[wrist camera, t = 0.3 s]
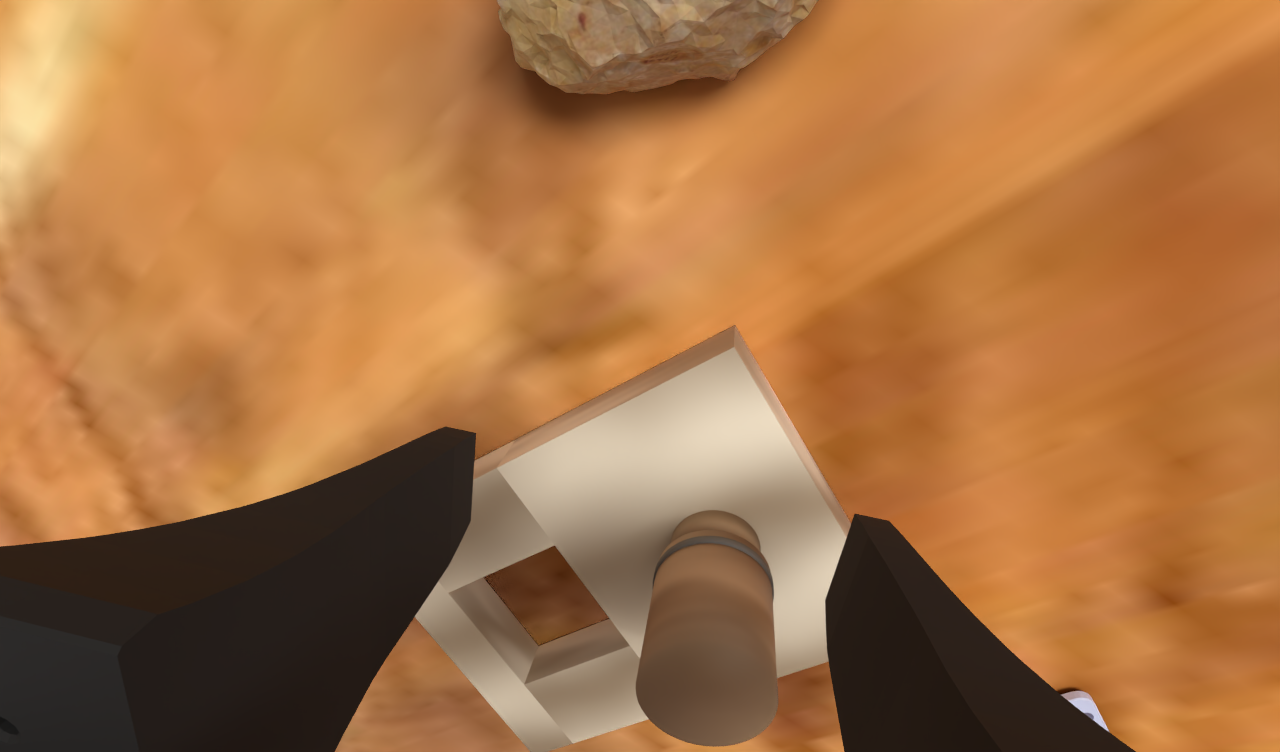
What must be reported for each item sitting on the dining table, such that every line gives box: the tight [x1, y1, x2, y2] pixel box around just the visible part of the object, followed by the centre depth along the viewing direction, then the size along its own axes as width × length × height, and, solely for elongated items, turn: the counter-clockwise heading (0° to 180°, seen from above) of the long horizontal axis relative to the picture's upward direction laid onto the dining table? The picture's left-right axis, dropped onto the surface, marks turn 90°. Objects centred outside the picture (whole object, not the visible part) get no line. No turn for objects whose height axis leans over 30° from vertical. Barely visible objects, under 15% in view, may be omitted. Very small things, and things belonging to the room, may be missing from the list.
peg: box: [636, 510, 778, 746], centre depth 20 cm, size 4×4×6 cm
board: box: [415, 325, 851, 752], centre depth 24 cm, size 12×16×2 cm
